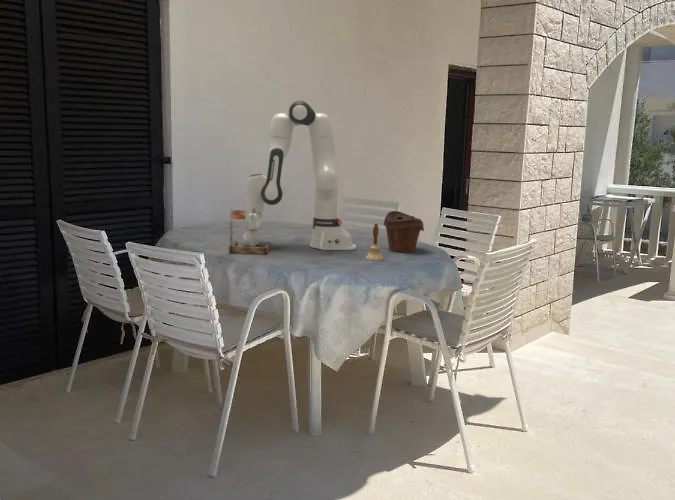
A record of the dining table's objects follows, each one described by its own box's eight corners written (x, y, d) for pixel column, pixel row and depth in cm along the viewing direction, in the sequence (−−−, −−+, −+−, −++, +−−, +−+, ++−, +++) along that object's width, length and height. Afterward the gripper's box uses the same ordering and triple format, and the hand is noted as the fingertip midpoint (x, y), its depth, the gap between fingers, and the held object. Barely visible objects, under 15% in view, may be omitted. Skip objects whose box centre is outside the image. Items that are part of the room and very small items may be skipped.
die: (264, 247, 322) (260, 229, 326) (258, 241, 314) (254, 223, 318) (248, 252, 323) (245, 235, 327) (242, 246, 315) (238, 228, 319)
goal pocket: (270, 248, 318) (271, 206, 314) (266, 254, 303) (267, 210, 299) (234, 246, 318) (234, 204, 314) (229, 253, 302) (229, 209, 299)
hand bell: (386, 260, 300) (388, 225, 297) (369, 260, 297) (371, 225, 294) (379, 256, 308) (380, 222, 305) (362, 257, 305) (363, 222, 302)
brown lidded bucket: (418, 255, 314) (420, 217, 311) (377, 250, 321) (379, 213, 318) (426, 249, 331) (429, 212, 328) (387, 245, 338) (389, 209, 334)
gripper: (258, 210, 313) (258, 239, 316) (264, 205, 333) (263, 232, 336) (245, 210, 313) (245, 239, 316) (251, 204, 333) (251, 232, 336)
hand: (254, 235), depth 326 cm, fingers closed
